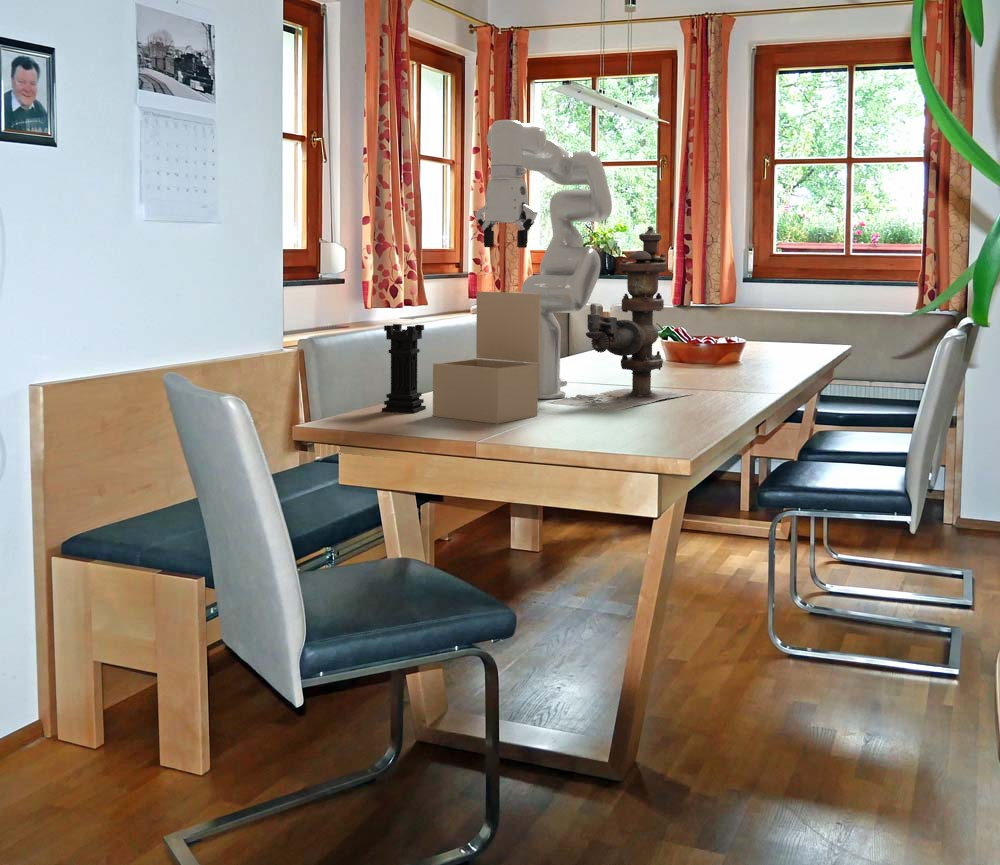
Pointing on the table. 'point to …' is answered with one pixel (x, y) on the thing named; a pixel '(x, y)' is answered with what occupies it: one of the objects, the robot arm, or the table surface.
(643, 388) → the valve
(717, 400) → the table surface
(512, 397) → the carton
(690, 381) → the table surface
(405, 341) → the chess piece
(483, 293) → the lid flap
